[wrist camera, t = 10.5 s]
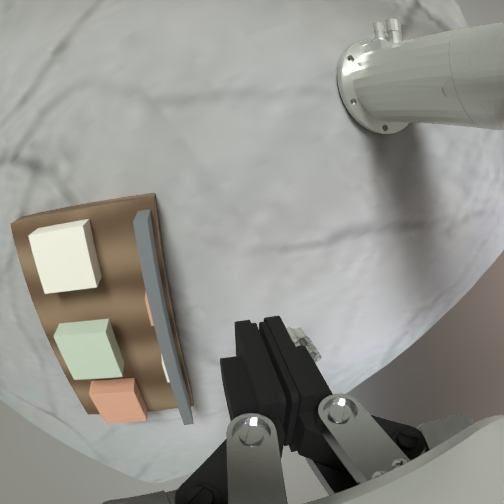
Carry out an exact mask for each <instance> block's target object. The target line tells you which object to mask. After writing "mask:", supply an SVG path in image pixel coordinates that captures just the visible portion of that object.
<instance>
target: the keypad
mask: <svg viewBox="0 0 504 504" xmlns="http://www.w3.org/2000/svg"><path fill="white" fill-rule="evenodd" d="M85 219H90V225H91V230H92V235H93V240H94V245H95V249H96V254H97V258H98V263H99V267H100V271H101V275H102V277H101V280H100V282H99V284H98V287H96V288H88V289H80V290H72V291H64V292H56V293H48V294H45V293H44V290H43V287H42V283H41V280H40V277H39V274H38V270H37V267H36V264H35V260H34V256H33V253H32V249H31V245H30V241H29V235H30V234H31V233H32V232H34V231H35V230H36V229H38V228H42V227H47V226H52V225H57V224H63V223H68V222H74V221H79V220H85ZM11 229H12V233H13V237H14V241H15V245H16V249H17V253H18V257H19V260H20V264H21V267H22V271H23V274H24V277H25V280H26V283H27V286H28V289H29V292H30V295H31V298H32V301H33V303H34V306H35V309H36V311H37V314H38V316H39V319H40V321H41V324H42V326H43V329H44V331H45V333H46V336H47V338H48V340H49V342H50V345H51V347H52V349H53V351H54V353H55V355H56V357H57V359H58V361H59V363H60V365H61V367H62V369H63V371H64V373H65V375H66V377H67V379H68V381H69V383H70V384H71V386H72V388H73V390H74V392H75V393H76V395H77V397H78V399H79V400H80V402H81V404H82V405H83V407H84V409H85V410H86V412H87V413H88V414H100V413H99V411H98V409H97V408H96V406H95V404H94V402H93V401H92V399H91V397H90V395H89V390H90V385H91V381H98V380H113V379H126V378H135V381H136V383H137V386H138V388H139V390H140V393H141V395H142V398H143V400H144V402H145V404H146V407H147V411H154V410H164V409H172V408H179V411H180V414H181V417H182V420H183V423H184V425H188V424H194V423H193V418H192V412H191V406H194V403H193V397H192V391H191V387H190V383H189V379H188V375H187V371H186V367H185V363H184V359H183V355H182V350H181V346H180V341H179V337H178V332H177V328H176V323H175V318H174V313H173V308H172V303H171V297H170V292H169V287H168V281H167V275H166V269H165V263H164V257H163V251H162V244H161V237H160V230H159V222H158V215H157V206H156V198H155V193H150V194H143V195H136V196H130V197H123V198H117V199H110V200H104V201H99V202H93V203H87V204H82V205H76V206H71V207H66V208H61V209H56V210H51V211H46V212H41V213H37V214H32V215H28V216H23V217H21V218H19V219H18V220H16V221H14V222H13V223H11ZM100 319H109V320H110V323H111V326H112V329H113V332H114V335H115V338H116V341H117V344H118V347H119V349H120V352H121V355H122V358H123V360H124V370H123V377H114V378H100V379H81V380H74V379H73V377H72V375H71V373H70V371H69V369H68V367H67V365H66V363H65V361H64V359H63V357H62V354H61V352H60V350H59V348H58V346H57V343H56V341H55V339H54V337H53V336H54V334H55V332H56V330H57V328H58V325H59V323H70V322H80V321H90V320H100Z"/></svg>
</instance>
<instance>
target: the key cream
mask: <svg viewBox="0 0 504 504" xmlns="http://www.w3.org/2000/svg"><path fill="white" fill-rule="evenodd" d="M29 241H30V245H31V249H32V253H33V256H34V260H35V264H36V267H37V270H38V274H39V277H40V280H41V283H42V287H43V290H44V293H45V294H48V293H56V292H64V291H72V290H80V289H88V288H96V287H98V284H99V282H100V280H101V277H102V275H101V271H100V267H99V263H98V258H97V254H96V249H95V245H94V240H93V235H92V230H91V225H90V219H85V220H79V221H74V222H68V223H63V224H57V225H52V226H47V227H42V228H38V229H36V230H35V231H34V232H32V233H31V234H30V235H29Z"/></svg>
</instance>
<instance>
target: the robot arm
mask: <svg viewBox="0 0 504 504" xmlns="http://www.w3.org/2000/svg"><path fill="white" fill-rule="evenodd" d="M373 26H374V32H375V37H376V38H375V39H374V40H363V41H360V42H357V43H355V44H353V45H351V46H350V47H349V48H348V49H347V50H346V51H345V52H344V54H343V55H342V57H341V59H340V62H339V65H338V72H337V79H338V87H339V91H340V95H341V97H342V100H343V103H344V104H345V106H346V108H347V110H348V112H349V113H350V114H351V115H352V117H353V118H354V119H355V120H356V121H357V122H358V123H359V124H360V125H361V126H363V127H364V128H366V129H367V130H370V131H372V132H375V133H379V134H393V133H397V132H399V131H401V130H403V129H404V128H405V127H406V126H408V124H409V123H431V124H446V125H458V126H468V127H477V128H484V129H492V130H504V22H502V23H496V24H490V25H483V26H476V27H469V28H463V29H457V30H452V31H446V32H441V33H436V34H431V35H427V36H423V37H418V38H414V39H410V40H406V41H402V37H401V34H402V31H401V25H400V21H399V20H396V19H387V20H386V27H387V33H388V37H389V40H387V39H385V27H384V23H381V22H375V23H373ZM350 101H351V102H350ZM235 340H236V357H229V358H221V359H220V365H221V374H222V381H223V387H224V392H225V397H226V401H227V406H228V410H229V415H230V419H231V422H230V424H229V425H228V427H227V432H226V436H227V439H226V440H225V441H224V442H223V443H222V444H221V445H220V446H219V447H218V448H217V449H216V450H215V452H214V453H213V454H212V455H211V456H210V457H209V458H208V459H207V460H206V461H205V462H204V463H203V464H202V465H201V466H200V467H199V468H198V469H197V470H196V471H195V472H194V473H193V474H192V475H191V476H190V477H189V478H188V479H187V480H186V481H185V482H184V483H183V484H182V485H181V486H180V487H179V489H176V490H172V491H169V492H165V491H164V490H163V491H159V492H154V493H150V494H145V495H139V496H134V497H129V498H121V499H114V500H109V501H106V502H103V503H102V504H288V502H287V497H286V490H285V484H284V477H283V471H282V465H281V457H282V450H283V445H284V446H287V445H289V447H290V450H291V452H294V451H298V453H299V455H301V456H304V457H306V460H307V462H308V464H309V466H310V467H311V469H312V470H313V472H314V473H315V475H316V476H317V478H318V480H319V481H320V482H321V484H322V486H323V487H324V488H325V490H326V491H327V493H328V494H329V496H327V497H324V498H321V499H318V500H314V501H311V502H307V503H304V504H504V415H497V416H492V417H489V418H486V419H483V420H481V421H479V422H477V423H474V421H473V420H472V419H471V418H470V417H468V416H467V415H465V414H456V415H453V416H450V417H446V418H443V419H440V420H436V421H432V422H429V423H425V424H421V425H419V427H418V428H414V427H412V426H409V425H405V424H401V423H396V422H393V421H389V420H386V419H382V418H379V417H375V416H372V415H370V414H369V413H368V412H367V411H366V410H365V408H364V407H363V406H362V405H361V404H360V403H359V402H358V401H357V400H356V399H355V398H353V397H351V396H349V395H345V394H334V395H333V394H332V392H331V390H330V389H329V387H328V385H327V383H326V382H325V380H324V378H323V376H322V375H321V373H320V371H319V369H318V367H317V366H316V364H315V362H314V360H313V359H312V357H311V355H310V353H309V351H308V350H307V348H306V347H305V346H304V345H302V346H297V347H296V346H295V344H294V343H293V341H292V339H291V337H290V335H289V333H288V331H287V329H286V327H285V325H284V323H283V322H282V320H281V318H280V316H274V317H267V318H264V322H260V323H259V329H258V327H257V324H256V323H251V322H250V320H245V321H237V322H235Z"/></svg>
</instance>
